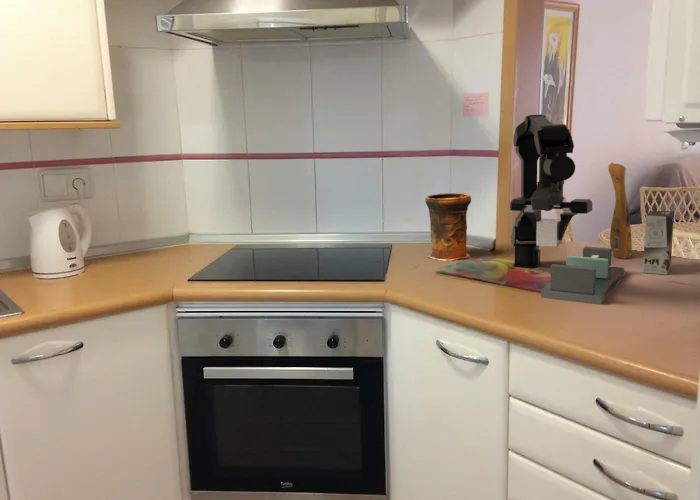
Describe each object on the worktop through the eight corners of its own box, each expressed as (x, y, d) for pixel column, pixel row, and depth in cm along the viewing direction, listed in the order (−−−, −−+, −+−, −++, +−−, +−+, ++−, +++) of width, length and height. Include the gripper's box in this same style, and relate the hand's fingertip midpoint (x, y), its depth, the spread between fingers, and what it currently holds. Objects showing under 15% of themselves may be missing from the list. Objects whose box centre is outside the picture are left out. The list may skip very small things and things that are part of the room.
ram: (565, 274, 161) (566, 257, 160) (578, 262, 172) (579, 246, 171) (605, 278, 155) (606, 260, 154) (616, 265, 167) (617, 248, 166)
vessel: (445, 263, 187) (444, 199, 183) (418, 256, 199) (416, 196, 195) (481, 256, 194) (480, 194, 190) (452, 250, 206) (451, 191, 202)
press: (541, 297, 150) (541, 265, 148) (571, 269, 174) (571, 242, 172) (601, 304, 142) (602, 271, 141) (624, 274, 166) (625, 246, 164)
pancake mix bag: (609, 260, 182) (613, 166, 176) (604, 246, 200) (608, 160, 194) (633, 260, 180) (639, 165, 174) (626, 247, 198) (631, 160, 191)
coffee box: (668, 275, 163) (672, 216, 160) (641, 273, 167) (645, 215, 163) (671, 267, 171) (675, 210, 167) (646, 265, 174) (649, 209, 171)
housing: (536, 245, 152) (536, 221, 151) (542, 241, 156) (543, 218, 155) (556, 246, 149) (557, 222, 148) (562, 243, 153) (563, 219, 152)
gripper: (502, 179, 148) (501, 242, 151) (581, 180, 137) (579, 248, 140) (518, 175, 157) (517, 234, 160) (594, 176, 146) (591, 239, 149)
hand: (549, 239), depth 152 cm, fingers closed on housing, 5 cm apart
